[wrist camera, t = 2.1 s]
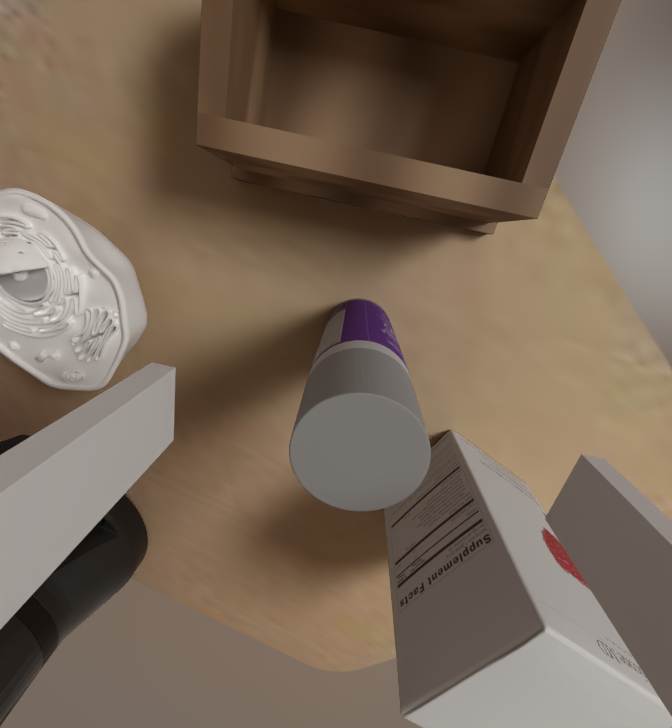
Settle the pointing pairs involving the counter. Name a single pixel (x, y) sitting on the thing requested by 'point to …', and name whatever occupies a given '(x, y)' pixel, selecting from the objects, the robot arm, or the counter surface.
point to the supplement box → (500, 611)
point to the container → (359, 416)
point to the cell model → (64, 295)
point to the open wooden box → (400, 99)
